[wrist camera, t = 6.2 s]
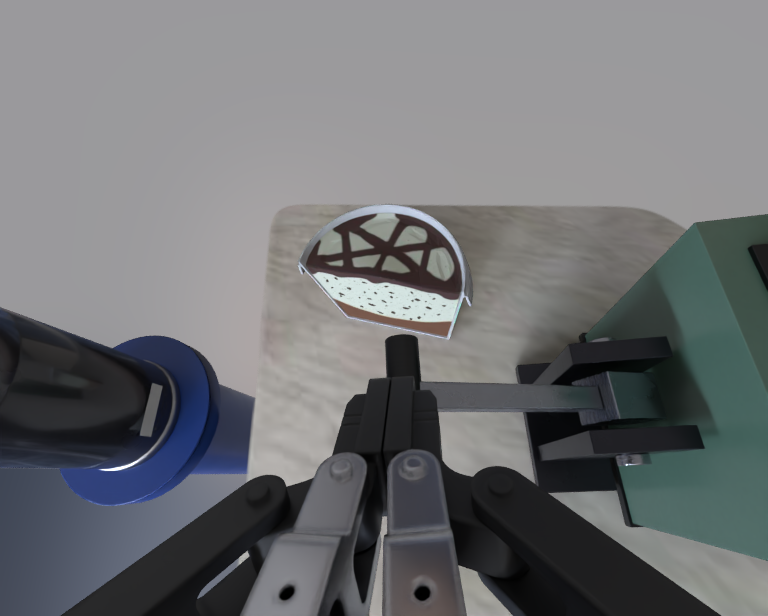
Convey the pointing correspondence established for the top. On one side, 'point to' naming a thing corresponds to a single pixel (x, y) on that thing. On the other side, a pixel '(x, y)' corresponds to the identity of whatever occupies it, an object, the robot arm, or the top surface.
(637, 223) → the top surface
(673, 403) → the toaster body
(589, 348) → the bracket
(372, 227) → the food container
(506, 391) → the lever
